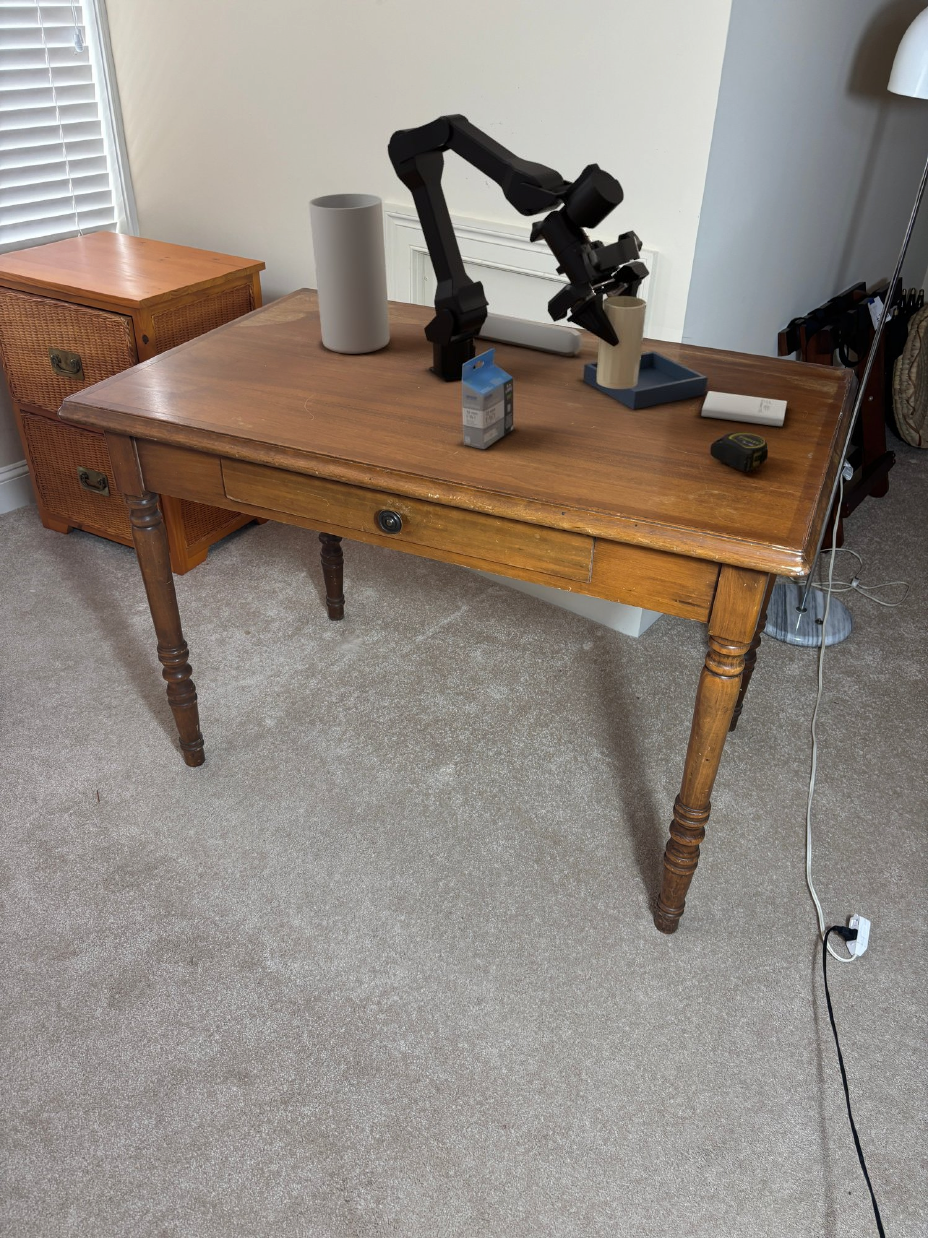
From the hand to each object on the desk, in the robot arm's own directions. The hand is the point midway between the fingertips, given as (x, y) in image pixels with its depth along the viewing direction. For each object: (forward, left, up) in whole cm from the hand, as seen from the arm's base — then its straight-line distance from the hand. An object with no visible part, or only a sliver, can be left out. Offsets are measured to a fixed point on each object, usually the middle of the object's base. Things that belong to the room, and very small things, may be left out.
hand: (629, 339), depth 144 cm
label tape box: (-21, +5, -14) cm, 25 cm away
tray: (+13, +12, -13) cm, 22 cm away
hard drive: (+20, -5, -14) cm, 25 cm away
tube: (+5, +40, -14) cm, 43 cm away
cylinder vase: (-22, +54, -14) cm, 60 cm away
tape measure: (+6, -20, -14) cm, 25 cm away
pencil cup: (-1, +1, -7) cm, 7 cm away
